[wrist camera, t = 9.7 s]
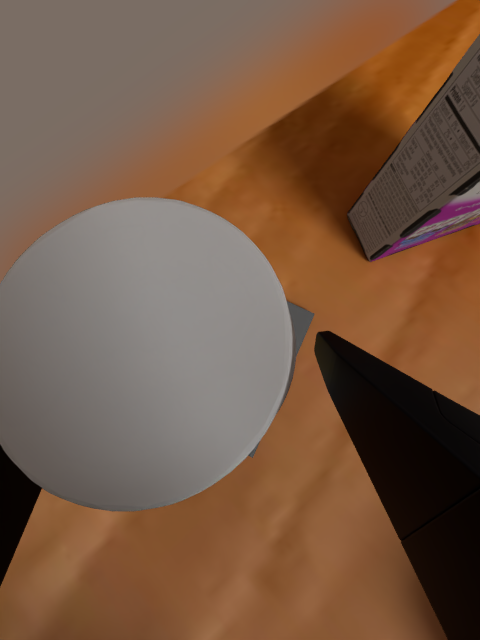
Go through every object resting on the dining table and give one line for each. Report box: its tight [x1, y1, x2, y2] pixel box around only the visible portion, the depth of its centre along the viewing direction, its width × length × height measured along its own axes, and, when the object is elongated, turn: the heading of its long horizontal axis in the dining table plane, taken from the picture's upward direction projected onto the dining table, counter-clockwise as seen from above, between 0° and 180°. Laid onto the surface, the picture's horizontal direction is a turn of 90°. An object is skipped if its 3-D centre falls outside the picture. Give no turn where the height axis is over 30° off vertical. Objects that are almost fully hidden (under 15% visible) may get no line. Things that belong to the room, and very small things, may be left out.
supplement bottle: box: [0, 198, 296, 511], centre depth 10 cm, size 7×7×13 cm
